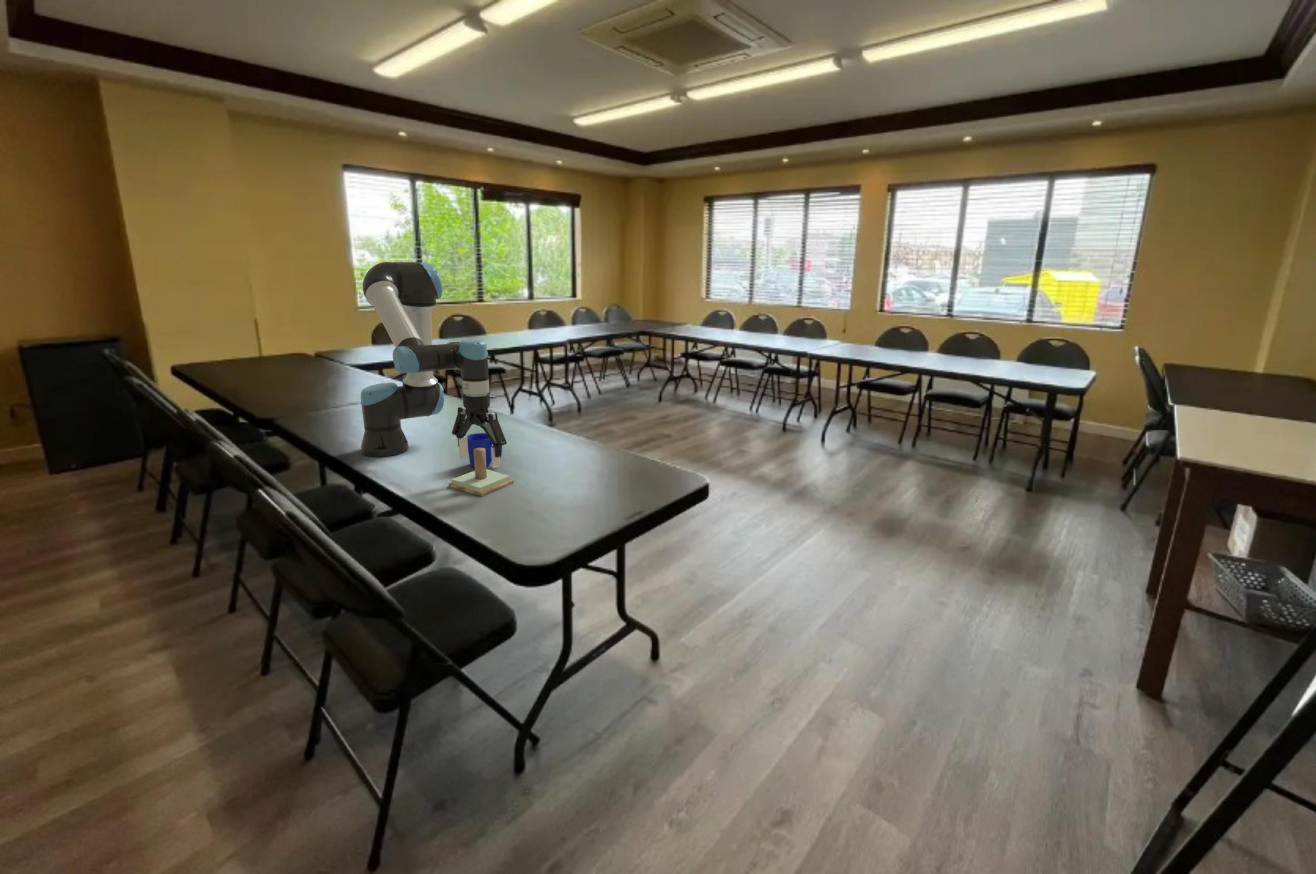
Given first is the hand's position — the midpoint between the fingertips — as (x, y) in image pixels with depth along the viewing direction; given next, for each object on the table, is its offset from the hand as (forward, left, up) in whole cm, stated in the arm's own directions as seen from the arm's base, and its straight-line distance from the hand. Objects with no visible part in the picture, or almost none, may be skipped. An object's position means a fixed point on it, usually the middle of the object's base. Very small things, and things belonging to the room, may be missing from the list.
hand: (480, 462), depth 174 cm
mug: (-11, +13, -7) cm, 19 cm away
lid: (0, 0, -6) cm, 6 cm away
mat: (0, 0, -7) cm, 7 cm away
